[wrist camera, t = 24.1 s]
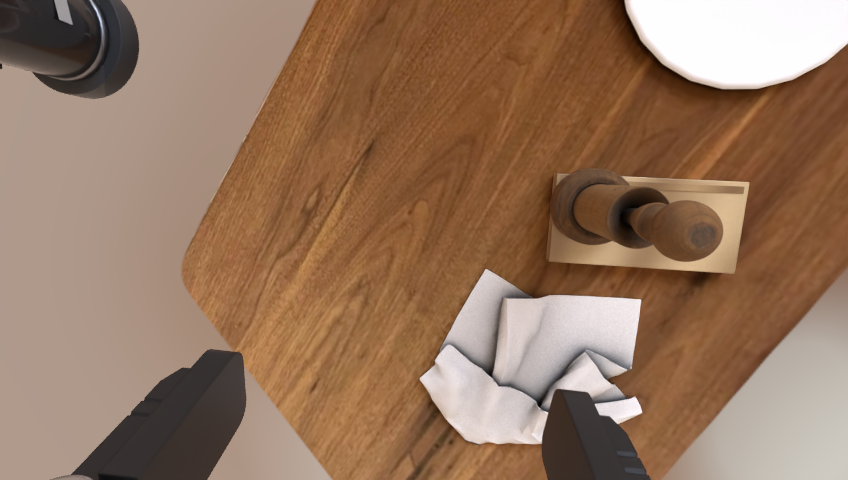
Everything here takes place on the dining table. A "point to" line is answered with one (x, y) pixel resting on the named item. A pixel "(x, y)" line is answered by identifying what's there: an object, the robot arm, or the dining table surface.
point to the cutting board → (715, 194)
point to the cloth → (530, 360)
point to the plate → (740, 38)
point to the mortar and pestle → (632, 216)
